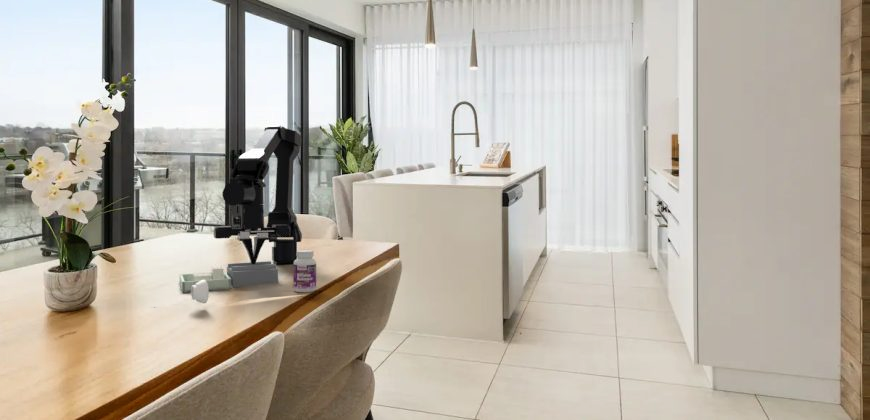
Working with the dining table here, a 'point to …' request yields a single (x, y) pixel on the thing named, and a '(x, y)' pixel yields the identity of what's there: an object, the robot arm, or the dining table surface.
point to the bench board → (252, 273)
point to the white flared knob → (200, 291)
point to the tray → (216, 284)
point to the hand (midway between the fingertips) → (253, 264)
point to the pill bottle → (304, 272)
